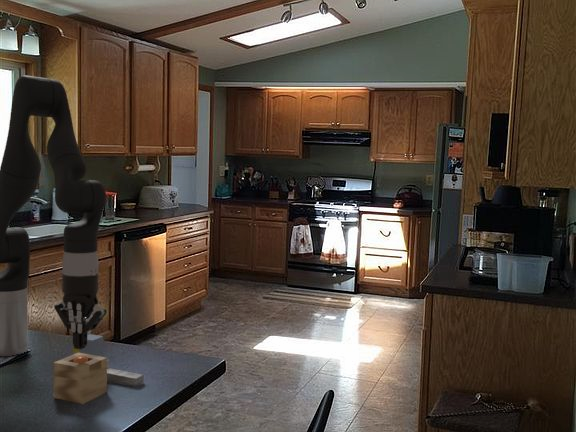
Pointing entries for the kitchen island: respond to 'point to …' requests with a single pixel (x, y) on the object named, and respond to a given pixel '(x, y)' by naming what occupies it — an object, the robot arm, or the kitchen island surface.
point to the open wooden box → (80, 378)
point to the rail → (124, 377)
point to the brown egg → (80, 359)
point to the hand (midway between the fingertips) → (80, 348)
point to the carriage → (94, 346)
